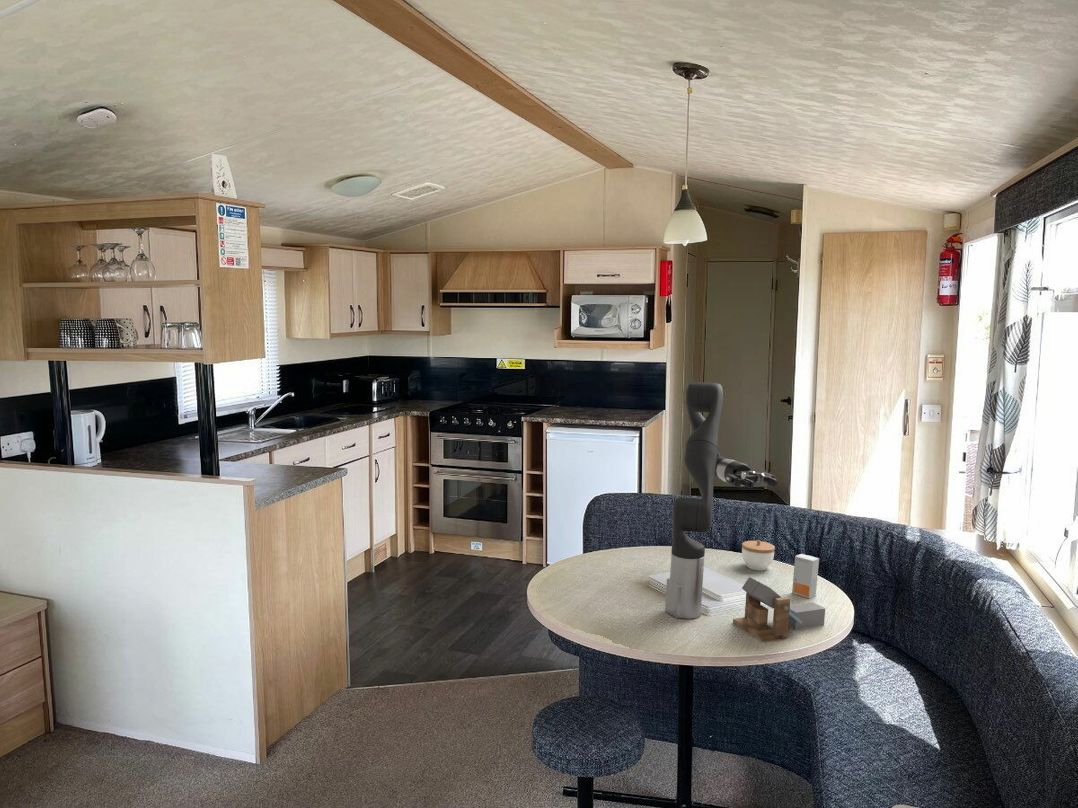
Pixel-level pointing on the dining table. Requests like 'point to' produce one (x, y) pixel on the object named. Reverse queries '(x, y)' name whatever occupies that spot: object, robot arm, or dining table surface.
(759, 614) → the trapdoor frame
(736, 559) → the dining table surface
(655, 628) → the dining table surface
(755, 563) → the lidded jar
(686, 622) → the dining table surface
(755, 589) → the trapdoor
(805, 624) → the basalt block
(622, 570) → the dining table surface
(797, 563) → the skincare box
